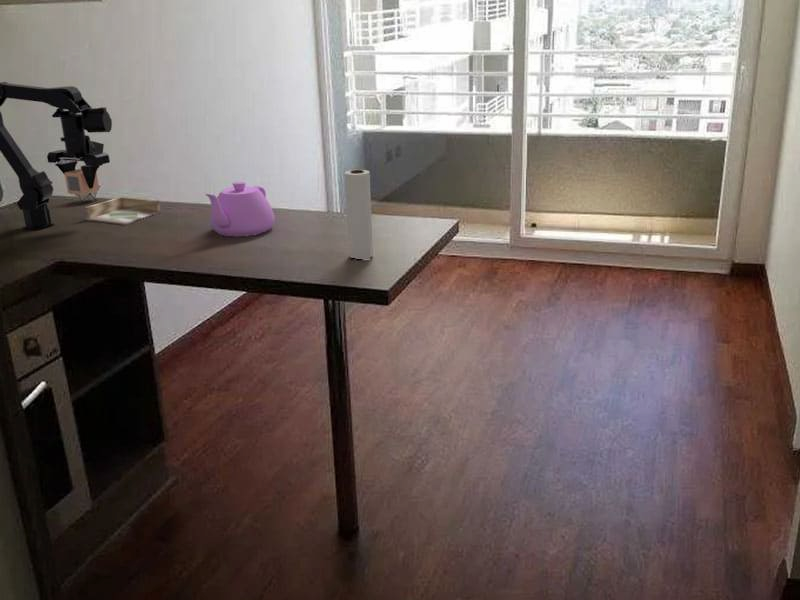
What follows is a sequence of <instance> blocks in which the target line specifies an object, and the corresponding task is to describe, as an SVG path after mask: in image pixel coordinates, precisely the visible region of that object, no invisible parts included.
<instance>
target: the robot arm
mask: <svg viewBox="0 0 800 600" xmlns="http://www.w3.org/2000/svg"><path fill="white" fill-rule="evenodd" d="M7 99H13V100H21V101H28V102H29V101H31V102H38V103H42V104H43V103H45V104H47V105H49V106H51V107H55V108H56V110H55V112H54V113H53V114H52V115H51V116H52V118H60V124H61V129H62V136H61V137H60V142H64V147H65V149H58V150H54V151H50V152H48V153H47V155H46V158H47V162H48V163H49V164H55V167H57V168H58V169H59V171H61V173H62V174H63V175H64V176H65V172H69V171H73V170H76V166H77V164H78V162H83V163H84V165H80V169H82V172H83V174H84V177H85V180H86V182H87V185H88V187H89V188H90V189H91V188H93V185H94V180H95V175H96V173H97V171H98V169H99V168H100V167H102V166H103V165H104V164H109V163H110V162H111V161H110V156H109V154H108V153H107V152H104V146H105V145H104V143H101V142H98V141H94V140H93V141H92V140H91V138H90V136H89V135H86V132H85V131H87V132H88V133H110V132H111V131H112V125H113V124H112V123H113V121H112V118H111V116H110V114H109V112H108V111H107V106H106V107H105V106H103V107H96V108H95V107H94V108H92V106H91V105H90V104H89V103H88V102H87V101H86V99H85V98H84V97H83V96H82V93H81V91H80V90H79V88H78V87H76V86H72V85H70V86H55V87H41V86H34V85H25V84H17V83H11V82H10V83H9V82H7V81H2V82H0V108H1V107H2V106H3V105H4V104H5V102H6V101H7ZM2 114H3V113H2V112H1V111H0V153H1V154H2V155H3V157H4V159H5V160H6V161H7V163H8V164H9V166H10V167H11V168H12V170H13V171H14V173H15V174H16V175H17V176H16V177H17V178H18V183H19V189H20V190H21V193H22V196H21V197H20V198H19V200H18V201H17V202H16V205H17V207H18V208H19V210H20V211H21V210H22V214H23V220H24V225H22V226H21V227H22V229H27V230H35V231H38V230H43V229H44V228H45V229H46V228H48V227H52V226H54V225H55V223H54V222H52V218H51V213H50V208H49V207H48V203H50V199H51V197H52V196H53V192H54V187H53V185H52V184H53V181H52V180H51V179H49V177H48V175H47V172H45V171H44V170H43V171H41V172H39V171H37V170H36V169H35V168H34V167H33V166H32V164H31V163H30V162H29V160H28V159H27V157H26V156H25V154H24V153H23V151H22V149H21V147H19V146H18V144H17V143H16V141H15V140H14V138H13V137H12V134H10V132H9V131H8V129H7V128H6V126H5V124H4V119H3V115H2Z"/></svg>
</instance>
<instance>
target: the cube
mask: <svg viewBox="0 0 800 600" xmlns="http://www.w3.org/2000/svg"><path fill="white" fill-rule="evenodd" d="M64 177H65V178H64V179H65V183H66V188H67V194H70V195H75V194H81V195H84V194H88V193H92V192H95V191H97V192H98V191H100V187H99V186H100V185H99V180H98V173H97V172H96V175H95V180H94V185H93V188H91V189H90V188H89V187H88V185H87V182H86V180H85V177H84V174H83V172H82V169H81V168H78V169H75V170H73V171H69V172H65V175H64Z"/></svg>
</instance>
